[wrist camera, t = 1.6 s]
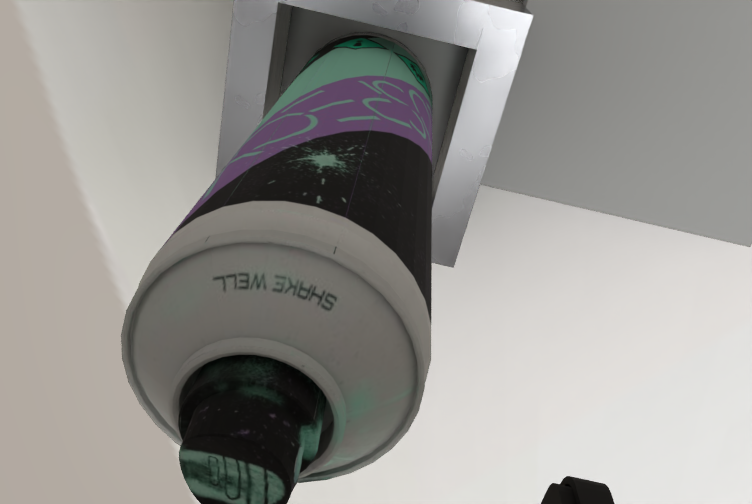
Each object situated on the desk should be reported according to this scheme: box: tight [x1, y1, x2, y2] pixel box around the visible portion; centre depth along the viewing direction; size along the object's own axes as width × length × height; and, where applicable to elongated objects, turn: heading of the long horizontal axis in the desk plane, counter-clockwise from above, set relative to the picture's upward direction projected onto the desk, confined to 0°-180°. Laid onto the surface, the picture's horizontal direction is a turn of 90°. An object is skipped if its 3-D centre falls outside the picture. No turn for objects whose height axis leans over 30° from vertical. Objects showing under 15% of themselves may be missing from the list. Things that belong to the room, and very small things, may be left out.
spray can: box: [121, 33, 432, 504], centre depth 18 cm, size 6×6×20 cm
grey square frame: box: [216, 0, 533, 268], centre depth 25 cm, size 10×10×3 cm
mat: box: [480, 0, 752, 247], centre depth 25 cm, size 12×12×1 cm
